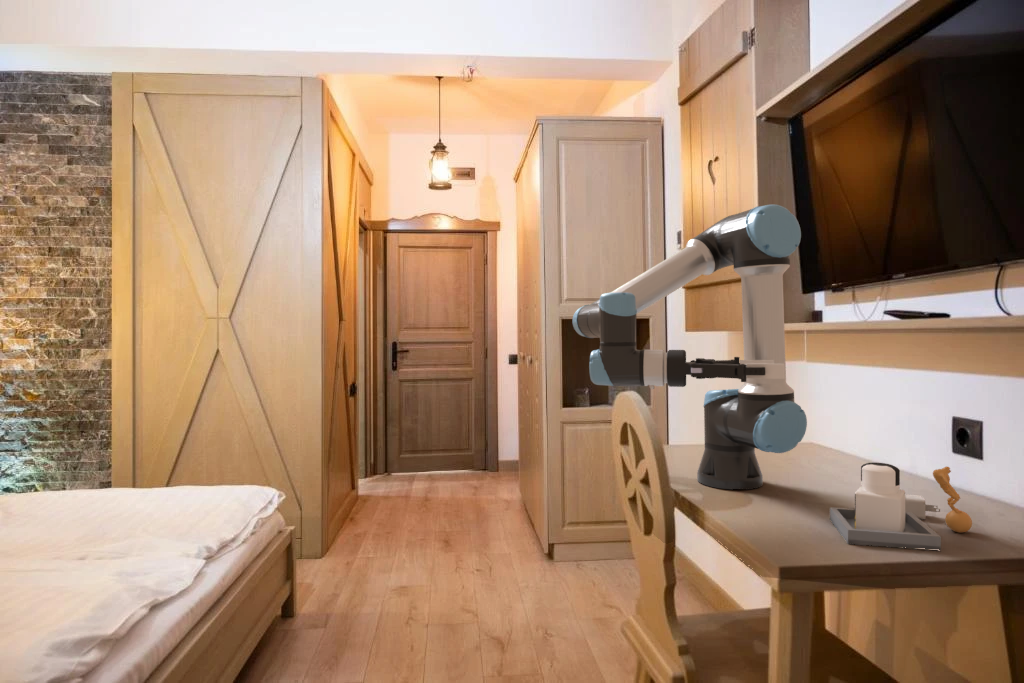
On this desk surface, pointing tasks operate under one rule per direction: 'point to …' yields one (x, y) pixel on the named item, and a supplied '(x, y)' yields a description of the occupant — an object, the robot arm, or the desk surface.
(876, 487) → the medicine bottle
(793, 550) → the desk surface
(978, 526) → the desk surface
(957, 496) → the figurine
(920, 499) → the usb wall charger
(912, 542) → the tray
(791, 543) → the desk surface
